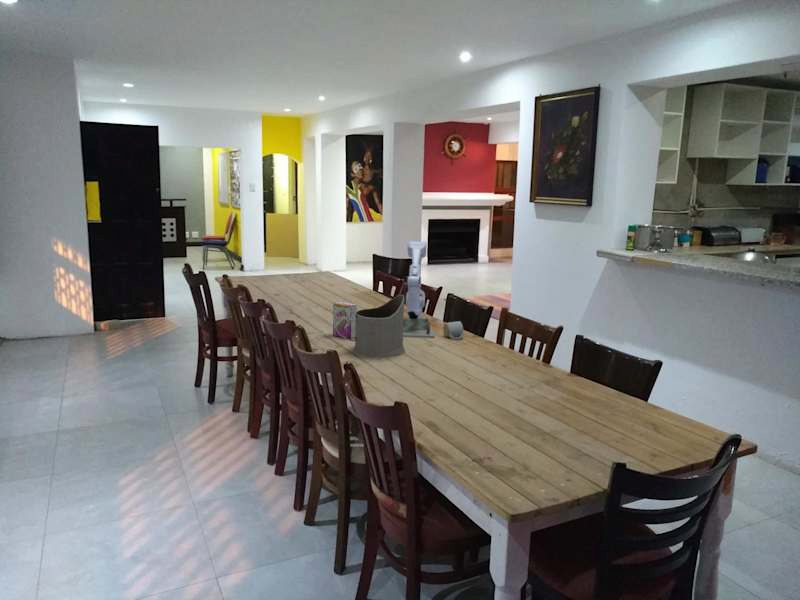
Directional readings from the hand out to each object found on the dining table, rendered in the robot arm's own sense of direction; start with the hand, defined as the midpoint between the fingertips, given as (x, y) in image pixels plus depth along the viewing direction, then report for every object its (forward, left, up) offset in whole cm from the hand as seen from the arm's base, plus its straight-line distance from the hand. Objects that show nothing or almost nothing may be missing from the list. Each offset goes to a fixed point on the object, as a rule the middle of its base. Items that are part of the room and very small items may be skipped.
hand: (413, 326), depth 307 cm
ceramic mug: (+8, +20, -4) cm, 22 cm away
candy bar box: (+13, -33, -4) cm, 36 cm away
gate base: (+6, 0, -3) cm, 7 cm away
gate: (+2, +1, -2) cm, 3 cm away
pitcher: (+38, -19, -4) cm, 42 cm away
